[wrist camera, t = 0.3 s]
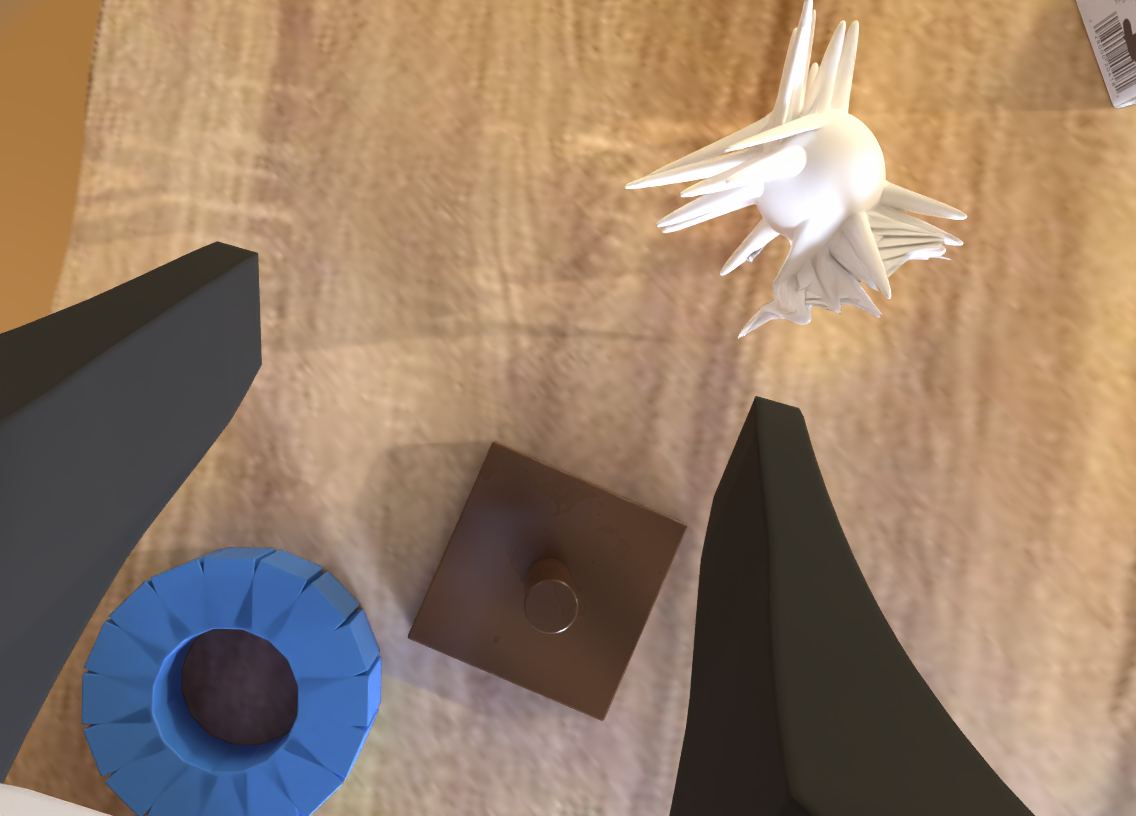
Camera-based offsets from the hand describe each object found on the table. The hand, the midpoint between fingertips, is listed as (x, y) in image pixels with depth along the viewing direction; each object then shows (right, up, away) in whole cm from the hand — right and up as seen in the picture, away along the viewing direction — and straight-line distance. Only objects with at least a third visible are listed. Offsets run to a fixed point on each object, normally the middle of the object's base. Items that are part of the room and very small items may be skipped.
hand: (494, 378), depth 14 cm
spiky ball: (+9, +8, +29) cm, 32 cm away
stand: (0, -8, +28) cm, 30 cm away
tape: (-13, -12, +28) cm, 33 cm away
